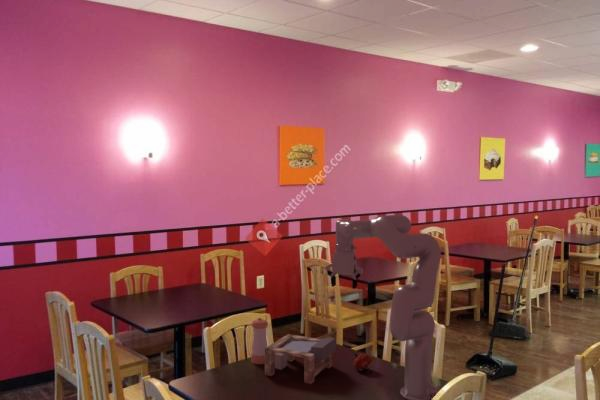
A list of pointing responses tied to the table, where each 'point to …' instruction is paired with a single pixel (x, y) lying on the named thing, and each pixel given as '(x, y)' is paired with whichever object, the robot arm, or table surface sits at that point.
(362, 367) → the pomegranate
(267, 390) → the table surface
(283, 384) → the table surface
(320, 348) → the trapdoor
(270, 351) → the trapdoor frame
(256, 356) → the pepper shaker
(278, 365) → the granite stone
